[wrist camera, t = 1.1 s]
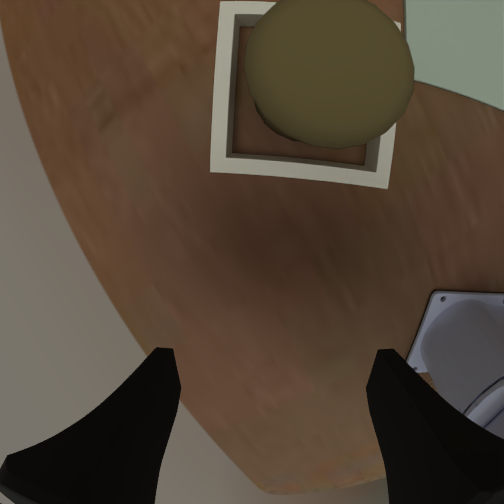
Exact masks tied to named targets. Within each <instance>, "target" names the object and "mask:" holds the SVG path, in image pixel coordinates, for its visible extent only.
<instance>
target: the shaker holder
mask: <svg viewBox="0 0 504 504" xmlns="http://www.w3.org/2000/svg"><path fill="white" fill-rule="evenodd" d="M275 4H276V3H275V2H252V1H222V2H220V13H219V24H218V36H217V49H216V63H215V78H214V94H213V113H212V133H211V158H210V172H221V173H239V174H253V175H267V176H279V177H290V178H301V179H311V180H321V181H330V182H338V183H346V184H354V185H362V186H370V187H377V188H384V189H388V183H389V177H390V170H391V162H392V155H393V146H394V138H395V128H396V123H395V124H394V125H393V126H392V127H391V128H390V129H389V130H388V131H387V132H386V133H385V134H383V135H381V136H379V137H377V138H375V139H373V140H371V141H369V142H367V148H366V157H365V165H364V166H361V165H354V164H346V163H339V162H330V161H322V160H313V159H303V158H293V157H282V156H270V155H256V154H240V153H232V144H233V125H234V108H235V91H236V75H237V60H238V46H239V32H240V26H246V27H254V26H255V24H256V22H257V21H258V20H259V19H260V18H261V17H262V16H263V15H264V14H265V13H266V12H267V11H268V10H269V9H270V8H271V7H272V6H273V5H275ZM395 24H396V25H397V27H398V28H399V30H400V31H401V23H398V22H395Z"/></svg>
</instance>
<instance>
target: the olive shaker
mask: <svg viewBox="0 0 504 504" xmlns="http://www.w3.org/2000/svg"><path fill="white" fill-rule="evenodd" d="M244 72H245V76H246V79H247V83H248V87H249V91H250V94H251V96H252V97H253V99H254V102H255V106H256V110H257V112H258V113H259V115H260V117H261V118H262V120H263V121H264V123H265V124H266V125H267V126H268V127H270V128H271V129H272V130H273V131H274V132H276V133H277V134H279V135H281V136H283V137H286V138H288V139H290V140H293V141H302V142H304V143H307V144H309V145H311V146H319V147H327V148H334V149H341V148H347V147H353V146H359V145H364V144H366V143H367V142H369V141H371V140H373V139H375V138H377V137H379V136H381V135H383V134H385V133H386V132H387V131H388V130H389V129H390V128H391V127H392V126H393V125H394V124H395V123H396V122H397V121H398V120H399V118H400V117H401V116H402V115H403V114H404V113H405V110H406V108H407V106H408V103H409V101H410V99H411V96H412V94H413V89H414V73H415V67H414V63H413V59H412V56H411V52H410V48H409V45H408V43H407V41H406V40H405V38H404V36H403V35H402V33H401V31H400V30H399V28H398V27H397V25H396V24H395V22H394V21H392V20H391V19H390V18H389V17H388V16H387V15H386V14H385V13H384V12H382V11H381V10H380V9H379V8H378V7H377V6H376V5H374V4H372V3H370V2H368V1H366V0H281V1H279V2H277V3H276V4H275V5H273V6H272V7H271V8H270V9H269V10H268V11H267V12H266V13H265V14H264V15H263V16H262V17H261V18H260V19H259V20H258V21H257V22H256V24H255V26H254V28H253V31H252V33H251V35H250V37H249V39H248V41H247V43H246V49H245V61H244Z"/></svg>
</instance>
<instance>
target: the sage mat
mask: <svg viewBox="0 0 504 504" xmlns="http://www.w3.org/2000/svg"><path fill="white" fill-rule="evenodd" d="M404 38H405V40H406V41H407V43H408V45H409V48H410V52H411V56H412V59H413V63H414V67H415V73H414V81H417V82H421V83H424V84H428V85H431V86H434V87H438V88H441V89H444V90H447V91H451V92H454V93H457V94H460V95H462V96H465V97H468V98H471V99H474V100H476V101H479V102H482V103H484V104H487V105H489V106H492V107H494V108H497V109H499V110H502V111H504V0H404Z"/></svg>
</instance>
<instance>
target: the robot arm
mask: <svg viewBox="0 0 504 504" xmlns="http://www.w3.org/2000/svg"><path fill="white" fill-rule="evenodd" d="M443 296H444V298H443V299H441V297H443ZM440 299H441V300H440ZM414 367H415V368H414ZM421 372H429V374H430V377H431V379H432V381H433V383H434V385H435V387H436V390H437V392H438V393H437V392H436V391H435V390H434V389H433V388H432V387H431V386H430V385H429V384H428V383H427V382H426V381H424V380H423V379H422V378H421V376H420V375H419V374H418V373H421ZM180 392H181V384H180V380H179V375H178V371H177V366H176V361H175V356H174V351H173V349H171V348H159V347H157V348H155V349H154V350H153V351H152V353H151V354H150V355H149V356H148V357H147V358H146V359H145V360H144V361H143V363H142V364H141V365H140V366H139V367H138V368H137V369H136V370H135V371H134V372H133V373H132V374H131V375H130V376H129V377H128V378H127V379H126V380H125V381H124V382H123V383H122V385H120V386H119V387H118V388H117V389H116V390H115V391H114V392H113V393H112V394H111V395H110V396H109V397H108V398H107V399H105V400H104V401H103V402H102V403H101V404H100V405H99V406H97V407H96V408H95V409H94V410H92V411H91V412H90V413H89V414H87V415H86V416H85V417H83V418H82V419H80V420H79V421H78V422H76V423H74V424H73V425H71V426H70V427H68V428H67V429H65V430H63V431H62V432H60V433H58V434H56V435H55V436H53V437H51V438H49V439H47V440H45V441H43V442H41V443H38V444H36V445H34V446H32V447H29V448H26V449H24V450H21V451H18V452H16V453H13V454H10V455H7V457H6V459H5V461H4V463H3V464H2V466H1V468H0V492H1V493H2V494H4V495H5V496H6V497H7V498H8V499H10V500H11V501H12V502H14V503H15V504H154V503H155V496H156V489H157V483H158V477H159V471H160V467H161V463H162V459H163V456H164V452H165V449H166V446H167V443H168V440H169V436H170V433H171V430H172V426H173V423H174V420H175V417H176V413H177V409H178V404H179V398H180ZM366 392H367V399H368V405H369V411H370V415H371V418H372V422H373V425H374V429H375V432H376V436H377V439H378V443H379V446H380V450H381V453H382V457H383V460H384V465H385V470H386V477H387V484H388V494H389V504H504V294H502V293H476V292H453V291H435V292H434V293H433V294H432V295H431V298H430V301H429V304H428V306H427V309H426V312H425V315H424V318H423V320H422V323H421V326H420V328H419V331H418V334H417V336H416V339H415V341H414V344H413V346H412V348H411V351H410V353H409V356H408V358H407V360H406V361H405V360H404V359H403V358H402V357H401V356H400V355H399V354H398V353H397V352H396V351H395V350H394V349H380V350H378V351H377V354H376V358H375V361H374V364H373V368H372V371H371V374H370V377H369V380H368V383H367V386H366ZM0 504H1V503H0Z"/></svg>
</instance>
